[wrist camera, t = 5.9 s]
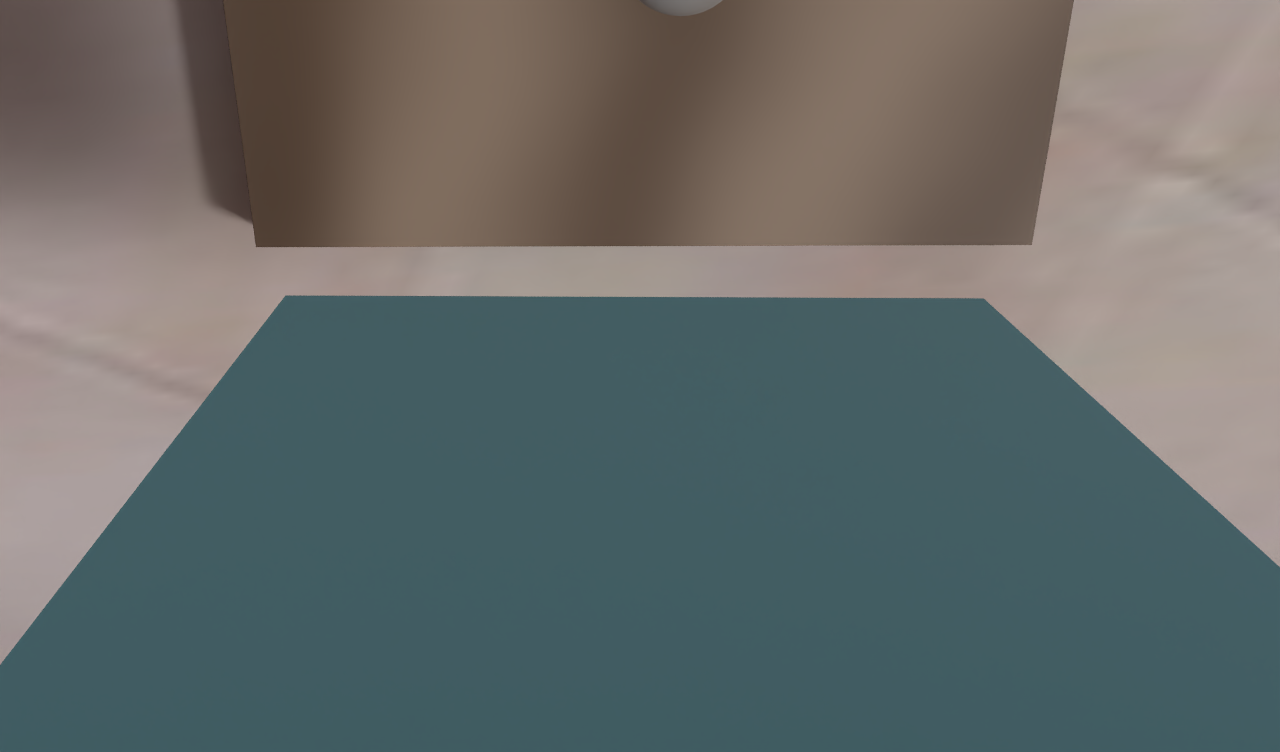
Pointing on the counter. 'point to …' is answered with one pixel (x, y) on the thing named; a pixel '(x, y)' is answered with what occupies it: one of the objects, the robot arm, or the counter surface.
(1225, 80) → the counter surface
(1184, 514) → the square socket block
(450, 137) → the pin plate
